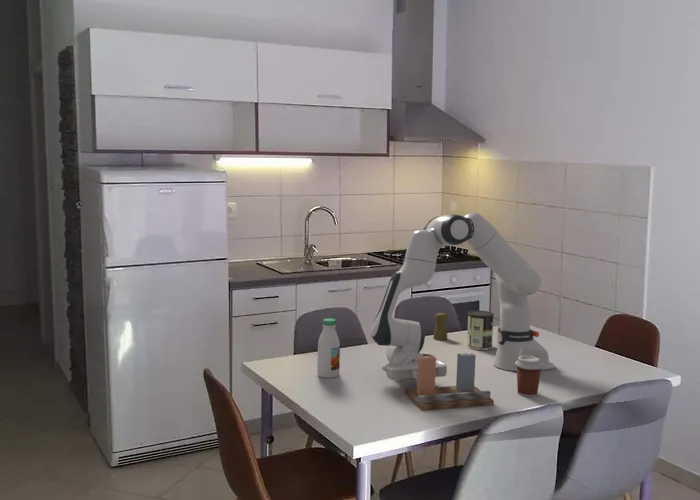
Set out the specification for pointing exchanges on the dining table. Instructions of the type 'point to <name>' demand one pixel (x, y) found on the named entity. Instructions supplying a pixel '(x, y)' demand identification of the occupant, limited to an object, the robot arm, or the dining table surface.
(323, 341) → the milk bottle
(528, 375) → the coffee cup
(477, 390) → the board
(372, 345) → the dining table surface
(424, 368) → the tile one
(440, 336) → the pepper mill
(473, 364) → the tile two
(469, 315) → the coffee can
